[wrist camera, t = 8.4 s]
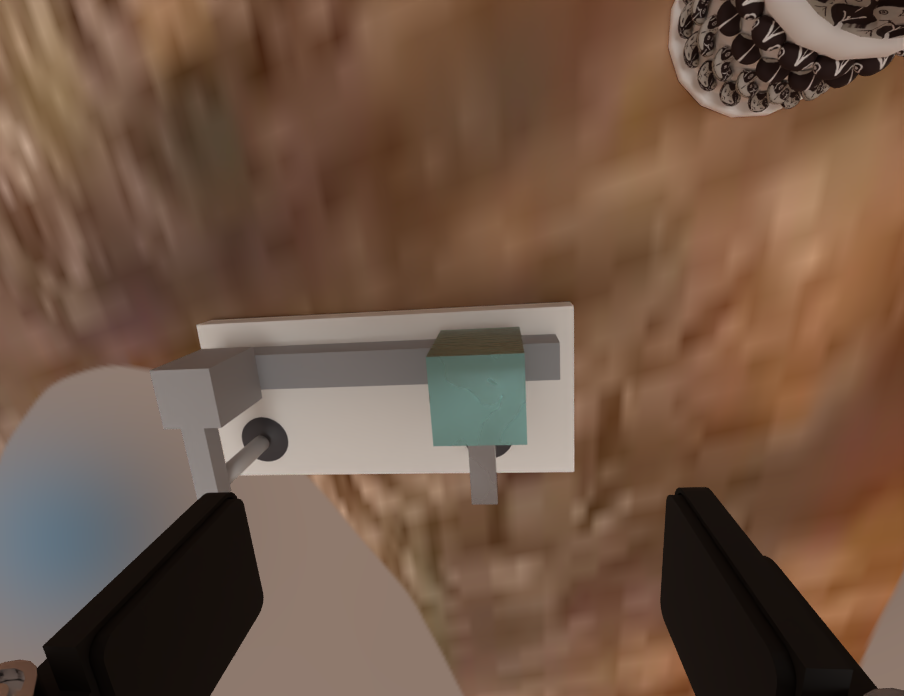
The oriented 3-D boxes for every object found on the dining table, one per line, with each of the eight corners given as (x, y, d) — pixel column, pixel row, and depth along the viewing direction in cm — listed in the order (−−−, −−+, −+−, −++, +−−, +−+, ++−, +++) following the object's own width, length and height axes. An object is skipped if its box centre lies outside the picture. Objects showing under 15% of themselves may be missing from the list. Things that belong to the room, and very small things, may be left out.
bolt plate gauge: (211, 320, 29) (115, 351, 22) (569, 301, 26) (596, 330, 19) (240, 463, 31) (163, 535, 24) (570, 459, 29) (594, 537, 22)
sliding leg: (444, 323, 25) (425, 357, 19) (517, 319, 25) (524, 353, 18) (454, 447, 27) (439, 517, 21) (522, 446, 27) (529, 517, 20)
